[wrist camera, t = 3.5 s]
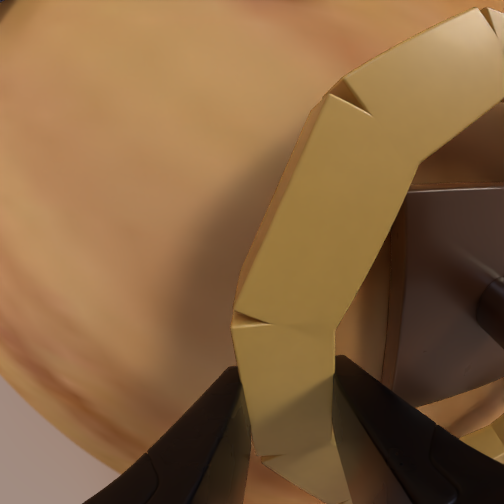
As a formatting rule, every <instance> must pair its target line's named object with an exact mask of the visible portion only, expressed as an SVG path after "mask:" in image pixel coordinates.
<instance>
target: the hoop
mask: <svg viewBox="0 0 504 504" xmlns="http://www.w3.org/2000/svg"><path fill="white" fill-rule="evenodd" d="M499 102H504V13H502V12H499V11H496V10H494V9H491V8H488V7H485V8H483V9H482V10H480V11H479V9H478V8H477V7H473V8H471V9H468V10H466V11H464V12H462V13H459V14H457V15H455V16H453V17H451V18H449V19H447V20H445V21H442V22H440V23H438V24H436V25H434V26H432V27H430V28H428V29H426V30H424V31H422V32H420V33H418V34H417V35H415V36H413V37H411V38H409V39H407V40H405V41H403V42H401V43H400V44H398V45H396V46H394V47H392V48H391V49H389V50H387V51H385V52H383V53H382V54H380V55H378V56H376V57H375V58H373V59H371V60H370V61H368V62H366V63H364V64H363V65H361V66H359V67H358V68H356V69H354V70H353V71H351V72H349V73H348V74H346V75H345V76H343V77H342V78H341V79H340V80H339V81H338V82H337V83H336V84H335V85H334V86H333V87H332V88H331V89H330V90H329V91H328V92H327V93H326V94H325V95H324V96H323V97H322V100H321V101H320V102H319V103H318V104H317V105H316V106H315V107H314V108H313V109H312V110H311V111H310V114H309V116H308V118H307V120H306V123H305V125H304V127H303V129H302V132H301V134H300V136H299V138H298V141H297V143H296V145H295V148H294V150H293V152H292V154H291V157H290V159H289V161H288V163H287V166H286V168H285V170H284V173H283V175H282V177H281V179H280V182H279V184H278V186H277V188H276V191H275V193H274V195H273V198H272V200H271V202H270V204H269V207H268V209H267V211H266V213H265V216H264V218H263V220H262V223H261V225H260V227H259V229H258V232H257V234H256V236H255V239H254V241H253V243H252V245H251V248H250V250H249V252H248V255H247V257H246V259H245V261H244V264H243V266H242V268H241V271H240V275H239V279H238V284H237V289H236V294H235V299H234V304H233V310H234V311H233V316H232V321H231V326H230V330H231V336H232V341H233V346H234V352H235V357H236V362H237V367H238V372H239V377H240V382H241V383H242V385H243V390H244V395H245V400H246V405H247V410H248V415H249V420H250V424H251V435H252V440H253V444H254V449H255V453H256V455H257V456H262V457H261V462H262V464H264V465H265V466H267V467H268V468H270V469H271V470H273V471H274V472H276V473H277V474H279V475H280V476H282V477H283V478H285V479H286V480H288V481H290V482H291V483H293V484H294V485H296V486H298V487H299V488H301V489H302V490H304V491H306V492H307V493H309V494H311V495H313V496H314V497H316V498H318V499H319V500H321V501H323V502H325V503H327V504H353V503H352V500H351V496H350V493H349V489H348V485H347V482H346V478H345V475H344V471H343V467H342V464H341V460H340V457H339V453H338V450H337V446H336V442H335V437H334V432H333V425H332V400H333V374H334V373H335V330H336V328H337V326H338V325H339V323H340V321H341V320H342V318H343V316H344V315H345V313H346V311H347V309H348V308H349V306H350V304H351V303H352V301H353V299H354V297H355V295H356V294H357V292H358V290H359V288H360V287H361V285H362V283H363V281H364V279H365V277H366V275H367V274H368V272H369V270H370V268H371V266H372V264H373V262H374V260H375V258H376V257H377V255H378V253H379V251H380V249H381V247H382V245H383V243H384V241H385V239H386V237H387V235H388V233H389V231H390V228H391V226H392V224H393V222H394V220H395V218H396V216H397V214H398V212H399V209H400V207H401V205H402V203H403V201H404V198H405V196H406V194H407V192H408V189H409V187H410V185H411V183H412V180H413V178H414V175H415V173H416V171H417V168H418V166H419V164H420V163H421V162H423V161H424V160H425V159H427V158H428V157H429V156H431V155H432V154H433V153H435V152H436V151H437V150H438V149H440V148H441V147H442V146H444V145H445V144H446V143H448V142H449V141H450V140H452V139H453V138H454V137H455V136H457V135H458V134H459V133H461V132H462V131H463V130H465V129H466V128H467V127H468V126H470V125H471V124H472V123H474V122H475V121H476V120H477V119H479V118H480V117H481V116H483V115H484V114H485V113H486V112H488V111H489V110H490V109H491V108H493V107H494V106H495V105H497V104H498V103H499ZM458 439H460V440H461V441H463V442H464V443H466V444H467V445H469V446H471V447H472V448H474V449H476V450H478V451H480V452H481V453H483V454H485V455H487V456H489V457H491V458H493V459H495V460H497V461H499V462H501V463H503V464H504V414H502V415H501V416H500V417H499V418H498V419H496V420H495V421H494V422H492V423H491V424H490V425H488V426H486V427H484V428H481V429H479V430H477V431H474V432H472V433H470V434H467V435H465V436H462V437H460V438H458Z"/></svg>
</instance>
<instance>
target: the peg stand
mask: <svg viewBox="0 0 504 504" xmlns="http://www.w3.org/2000/svg"><path fill="white" fill-rule="evenodd" d="M503 377H504V182H464V183H435V184H414V185H410V187H409V189H408V192H407V194H406V196H405V198H404V201H403V203H402V205H401V207H400V209H399V212H398V214H397V216H396V218H395V220H394V222H393V224H392V226H391V272H390V297H389V313H388V327H387V338H386V348H385V357H384V365H383V373H382V381H381V383H382V384H383V385H385V386H386V387H387V388H389V389H390V390H391V391H393V392H394V393H395V394H397V395H398V396H399V397H401V398H402V399H403V400H405V401H406V402H407V403H409V404H410V405H412V406H413V407H414V408H415V407H419V406H422V405H426V404H429V403H433V402H436V401H439V400H443V399H446V398H449V397H452V396H455V395H458V394H461V393H464V392H467V391H469V390H472V389H475V388H478V387H480V386H483V385H485V384H488V383H491V382H493V381H495V380H498V379H500V378H503Z"/></svg>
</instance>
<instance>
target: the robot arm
mask: <svg viewBox="0 0 504 504" xmlns="http://www.w3.org/2000/svg"><path fill="white" fill-rule="evenodd" d="M332 425H333V432H334V437H335V442H336V446H337V450H338V453H339V457H340V460H341V464H342V467H343V471H344V475H345V478H346V482H347V485H348V489H349V493H350V496H351V500H352V503H353V504H504V464H503V463H501V462H499V461H497V460H495V459H493V458H491V457H489V456H487V455H485V454H483V453H481V452H480V451H478V450H476V449H474V448H472V447H471V446H469V445H467V444H466V443H464V442H463V441H461V440H460V439H458V438H457V437H455V436H454V435H452V434H451V433H449V432H448V431H446V430H445V429H443V428H442V427H441V426H439V425H436V423H435V422H434V421H432V420H431V419H429V418H428V417H427V416H425V415H424V414H422V413H421V412H420V411H418V410H417V409H416V408H414V407H413V406H412V405H410V404H409V403H407V402H406V401H405V400H403V399H402V398H401V397H399V396H398V395H397V394H395V393H394V392H393V391H391V390H390V389H389V388H387V387H386V386H385V385H383V384H382V383H381V382H379V381H378V380H377V379H375V378H374V377H373V376H371V375H370V374H369V373H367V372H366V371H365V370H363V369H362V368H361V367H359V366H358V365H357V364H355V363H354V362H353V361H351V360H350V359H349V358H347V357H346V356H345V355H338V356H335V373H334V374H333V400H332ZM435 426H436V427H435ZM250 451H251V424H250V420H249V415H248V410H247V405H246V400H245V395H244V390H243V385H242V383H241V382H240V377H239V372H238V367H237V366H229V367H228V368H227V369H226V370H225V371H224V372H223V373H222V374H221V375H220V376H219V377H218V379H217V380H216V381H215V382H214V383H213V384H212V385H211V386H210V387H209V388H208V389H207V390H206V391H205V393H204V394H203V395H202V396H201V397H200V398H199V399H198V400H197V401H196V402H195V403H194V404H193V405H192V406H191V407H190V408H189V409H188V410H187V411H186V412H185V413H184V415H183V416H182V417H181V418H180V419H179V420H178V421H177V422H176V423H175V424H174V425H173V426H172V427H171V428H170V429H169V430H168V431H167V432H166V433H165V434H164V435H163V436H162V437H161V438H160V439H159V440H158V441H157V442H156V443H155V444H154V445H153V446H152V447H151V448H150V449H149V450H148V451H147V452H148V453H144V454H143V455H142V456H141V457H140V458H139V459H138V460H137V461H136V462H135V463H134V464H133V465H132V466H131V467H130V468H128V469H127V470H126V471H125V472H124V473H123V474H122V475H121V476H119V477H118V478H117V479H116V480H114V481H113V482H112V483H110V484H109V485H108V486H107V487H105V488H104V489H103V490H101V491H100V492H98V493H97V494H96V495H94V496H93V497H91V498H90V499H88V500H87V501H85V502H84V503H82V504H243V500H244V493H245V486H246V480H247V473H248V466H249V460H250Z"/></svg>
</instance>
